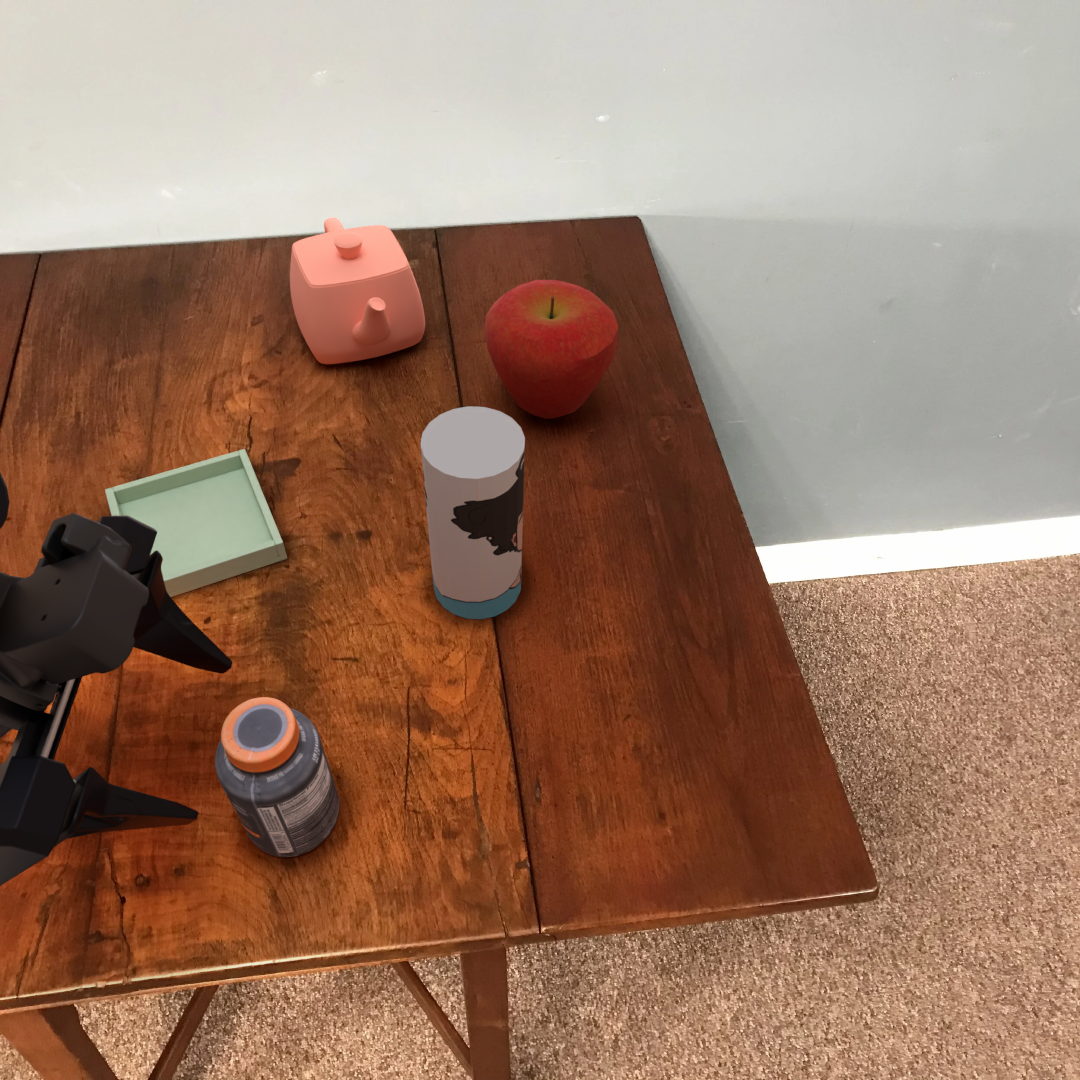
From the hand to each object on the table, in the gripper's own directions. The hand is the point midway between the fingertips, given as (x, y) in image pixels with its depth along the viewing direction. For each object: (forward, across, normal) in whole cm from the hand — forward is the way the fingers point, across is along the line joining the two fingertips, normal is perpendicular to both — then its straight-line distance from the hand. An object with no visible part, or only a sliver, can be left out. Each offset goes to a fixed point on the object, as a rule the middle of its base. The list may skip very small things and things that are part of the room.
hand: (212, 739), depth 52 cm
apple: (+21, +39, -7) cm, 45 cm away
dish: (+1, +24, +13) cm, 27 cm away
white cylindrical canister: (+17, +18, -3) cm, 25 cm away
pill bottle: (+9, 0, +5) cm, 10 cm away
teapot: (+9, +48, +6) cm, 49 cm away
